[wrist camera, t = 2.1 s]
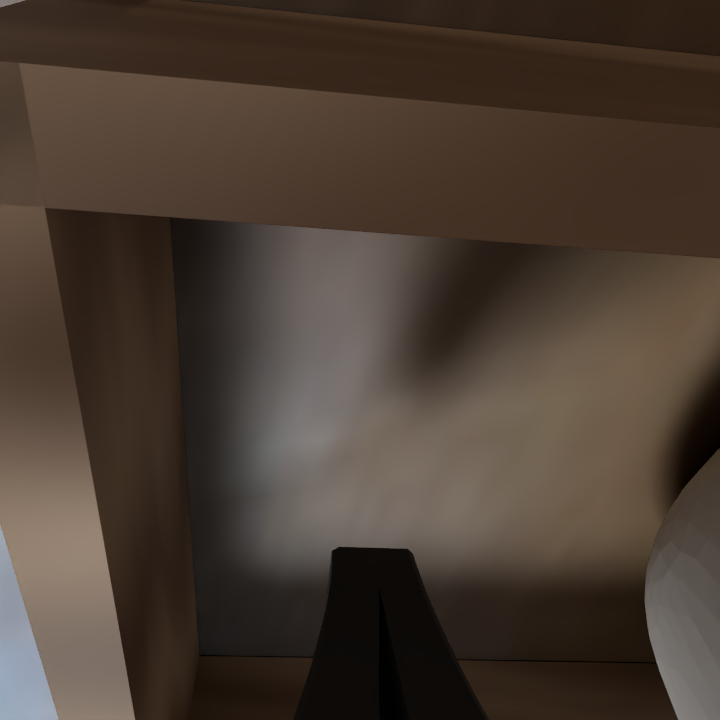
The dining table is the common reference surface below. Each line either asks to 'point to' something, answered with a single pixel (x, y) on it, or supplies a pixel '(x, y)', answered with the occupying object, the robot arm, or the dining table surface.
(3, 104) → the open wooden tray
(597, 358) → the dining table surface
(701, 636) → the teacup
